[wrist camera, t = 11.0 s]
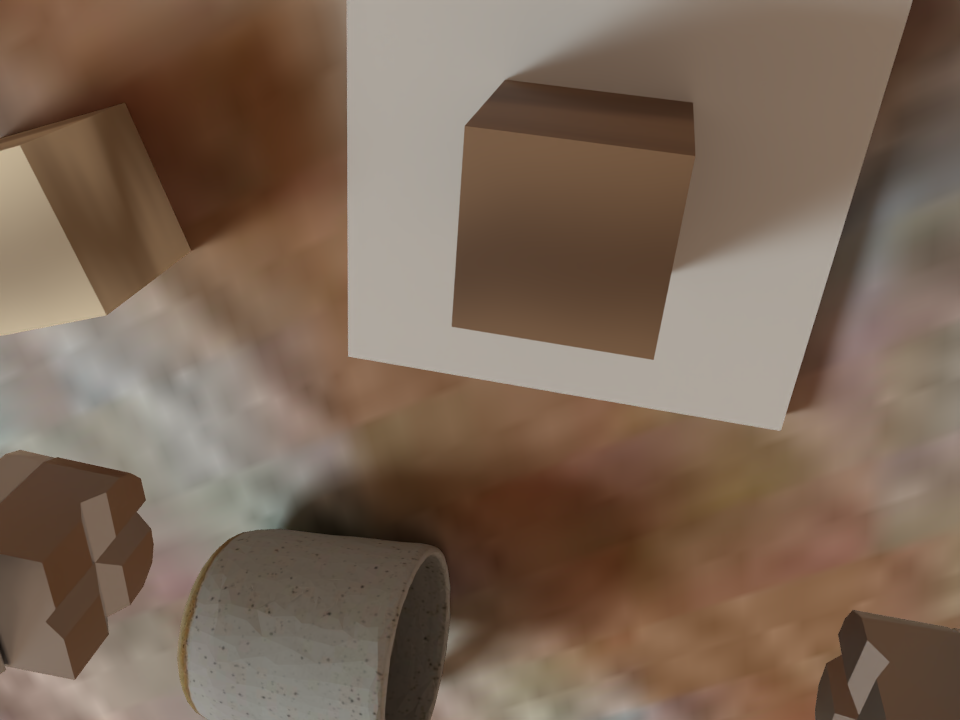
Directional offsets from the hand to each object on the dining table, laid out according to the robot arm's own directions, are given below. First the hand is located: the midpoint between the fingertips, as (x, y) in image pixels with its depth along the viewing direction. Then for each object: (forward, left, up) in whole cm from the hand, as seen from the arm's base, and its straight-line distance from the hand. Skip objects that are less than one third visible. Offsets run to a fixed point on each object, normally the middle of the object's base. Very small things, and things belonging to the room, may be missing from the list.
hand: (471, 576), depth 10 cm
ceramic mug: (+19, -7, -17) cm, 27 cm away
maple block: (+3, -16, -17) cm, 24 cm away
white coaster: (0, 0, -17) cm, 17 cm away
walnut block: (+1, 0, -16) cm, 16 cm away
